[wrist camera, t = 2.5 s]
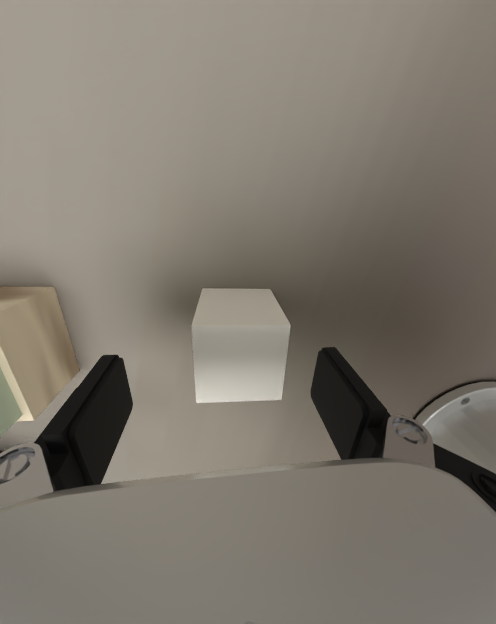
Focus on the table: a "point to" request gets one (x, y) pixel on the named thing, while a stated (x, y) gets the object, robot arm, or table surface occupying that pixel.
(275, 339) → the top block
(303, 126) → the table surface
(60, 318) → the tower base
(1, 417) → the tower mid
